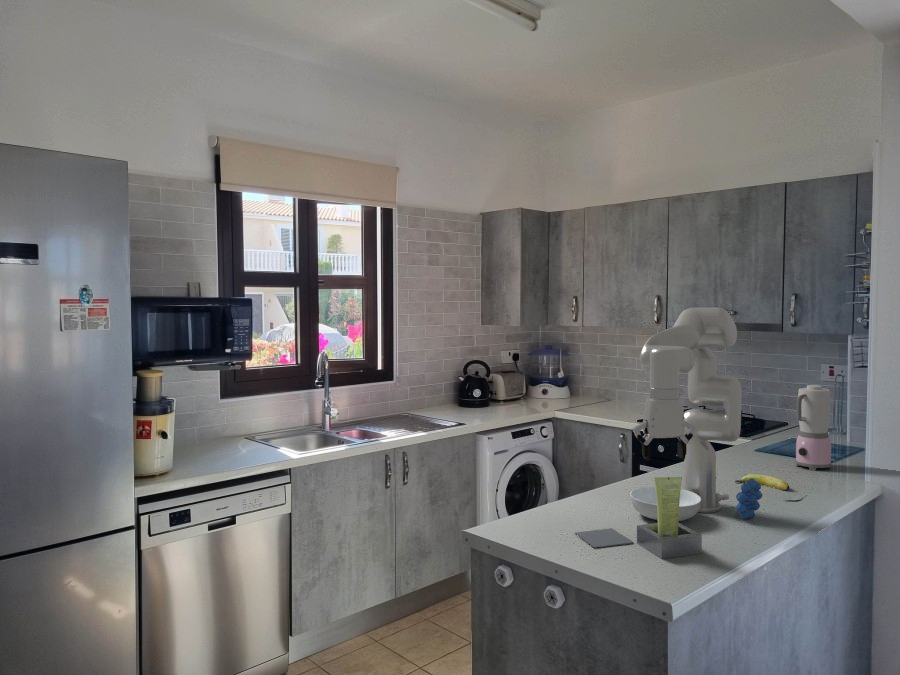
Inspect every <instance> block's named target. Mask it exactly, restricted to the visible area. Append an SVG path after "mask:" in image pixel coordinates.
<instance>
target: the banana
mask: <svg viewBox="0 0 900 675" xmlns="http://www.w3.org/2000/svg"><path fill="white" fill-rule="evenodd" d="M752 478H753V479H754V480H755V481H757V482H759V483H760V484H762V485H761V486H763V485H767V486H766V487H768V486H772V487H771V488H773V487H775V488H774V489H777V488H778V490H780V489H782V490H781V491H787V490H790V485H789V483H787V481H785V480H783V479H780V478H778V477H776V476H775V477H774V476H770V475H767V474H765V475H764V474H758V473H752V474H745V475H743V477H742V478H741V479H739V480H737V479H736V480H734V483H736V482H747V481H748V480H749V479H752ZM803 492H804V491H803ZM805 492H806V491H805ZM805 492H804V493H805ZM804 493H803V494H804Z"/></svg>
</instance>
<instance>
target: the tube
mask: <svg viewBox="0 0 900 675" xmlns="http://www.w3.org/2000/svg"><path fill="white" fill-rule="evenodd" d="M682 480H683V476H667V477H666V476H658V477H657V476H656V477H655V476H654V483H655V484H654V485H655V486H656V496H657V514H658V520H657V523H658V534H659V535H661V536H663V537H669V536H677V535H678V523H679V521H678V518H679V502H680V490H681V489H682V487H681V486H682V482H683V481H682Z"/></svg>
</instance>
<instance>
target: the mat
mask: <svg viewBox="0 0 900 675" xmlns="http://www.w3.org/2000/svg"><path fill="white" fill-rule="evenodd" d="M574 533H575V534H576V535H578V536H579V537H580V538H582V539H583V540H584V541H586V542H587V543H588V544H587V543H586V542H585V543H586V544H587V545H589V544H590V545H591V546H592V547H591V546H590V545H589V546H590V547H591V548H593V547H594V548H595V549H598V548H597V547H603V548H608V547H607V546H611V547H617V545H619V546H626V544H627V545H634V541H633V540H632V539H630V538H628V537H627V536H625V535H624V534H622V533H620V532H618V531H617V530H615V529H614V528H611V527H610V528H603V529H602V528H601V529H595V530H587V531H577V532H574ZM575 534H574V535H575ZM576 535H575V536H576ZM578 536H577V537H578ZM579 537H578V538H579ZM580 538H579V539H580ZM582 539H581V540H582ZM583 540H582V541H583ZM584 541H583V542H584ZM594 548H593V549H594Z"/></svg>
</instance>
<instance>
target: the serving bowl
mask: <svg viewBox="0 0 900 675" xmlns="http://www.w3.org/2000/svg"><path fill="white" fill-rule="evenodd" d="M629 497H630V501H631V504H632V506H633V508H634V510H636V511H637V513H639V514H640V515H642V516H644V517H646V518H648V519H652V520H655V521H658V514H657V496H656V485H655V486H654V485H653V486H651V485H650V486H643V487H637V488H634V489H632V490H631V491H630V493H629ZM700 505H701V498H700V496H698V495H697V494H695V493H693V492H690V491H687V490H684V489H683V488H681V490H680V502H679V518H678V522H681V521H687V520H689V519H691V518H692V517H695V515H697V513H699V512H698V510H699V508H700Z"/></svg>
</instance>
